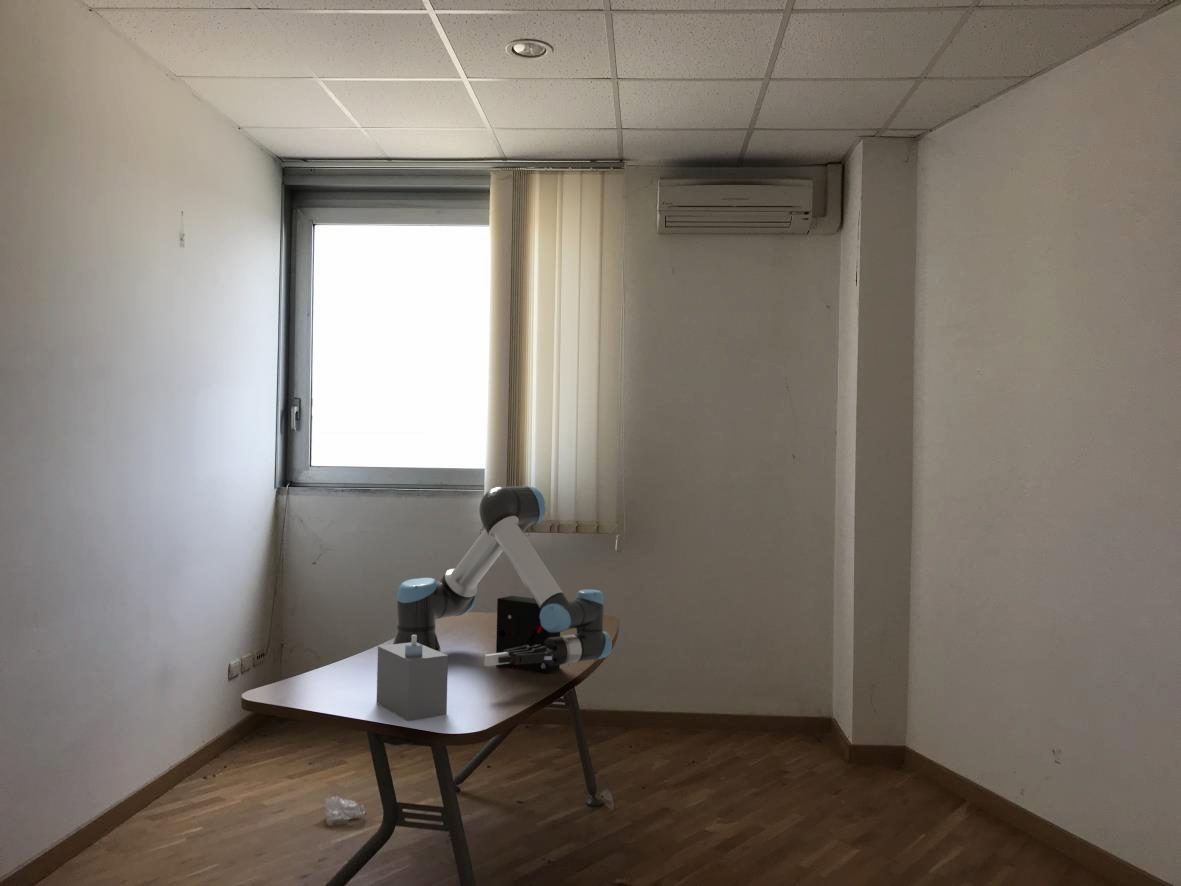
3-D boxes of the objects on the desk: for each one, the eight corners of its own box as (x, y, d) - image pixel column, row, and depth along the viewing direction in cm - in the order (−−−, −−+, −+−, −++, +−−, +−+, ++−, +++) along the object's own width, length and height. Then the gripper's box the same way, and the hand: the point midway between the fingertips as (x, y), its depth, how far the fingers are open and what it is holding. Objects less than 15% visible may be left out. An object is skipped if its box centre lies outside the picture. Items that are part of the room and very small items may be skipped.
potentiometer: (402, 654, 207) (402, 634, 207) (417, 653, 209) (418, 633, 209) (409, 658, 204) (410, 637, 204) (425, 656, 206) (425, 635, 206)
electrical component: (563, 668, 255) (564, 600, 256) (544, 675, 247) (545, 604, 247) (514, 660, 264) (516, 594, 265) (494, 667, 256) (496, 598, 256)
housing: (376, 702, 216) (378, 646, 216) (413, 696, 222) (415, 641, 222) (407, 721, 201) (409, 660, 202) (446, 714, 207) (447, 655, 208)
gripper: (574, 668, 233) (498, 680, 219) (547, 659, 243) (473, 670, 229) (575, 640, 233) (498, 650, 219) (548, 632, 243) (473, 641, 229)
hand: (485, 660), depth 224 cm, fingers closed
